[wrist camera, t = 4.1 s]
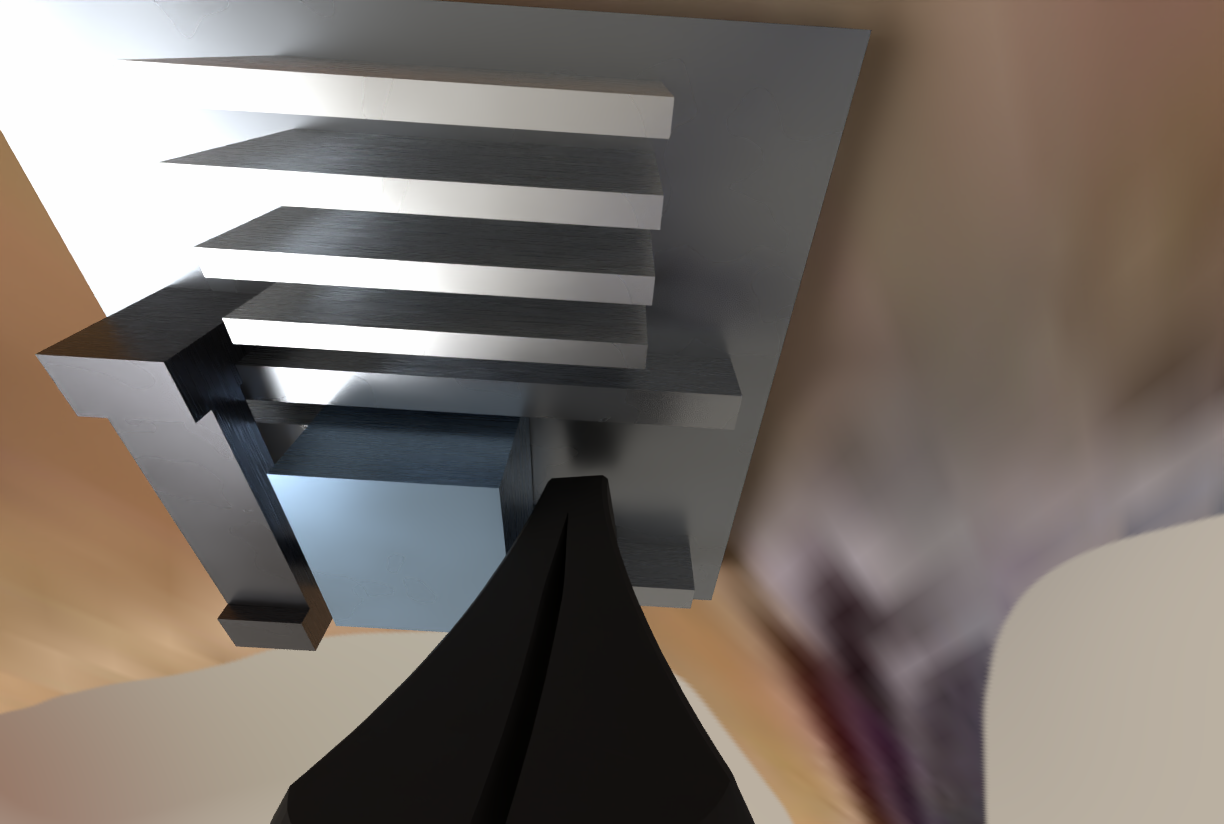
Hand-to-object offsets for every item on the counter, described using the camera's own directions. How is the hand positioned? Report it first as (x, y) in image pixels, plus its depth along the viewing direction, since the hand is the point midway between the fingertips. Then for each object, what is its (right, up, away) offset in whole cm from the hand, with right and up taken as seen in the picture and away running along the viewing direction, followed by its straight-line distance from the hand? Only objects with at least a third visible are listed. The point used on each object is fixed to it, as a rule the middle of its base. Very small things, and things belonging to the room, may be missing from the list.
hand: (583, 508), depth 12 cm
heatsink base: (-3, +3, +1) cm, 4 cm away
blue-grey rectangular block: (-5, +1, +1) cm, 5 cm away
